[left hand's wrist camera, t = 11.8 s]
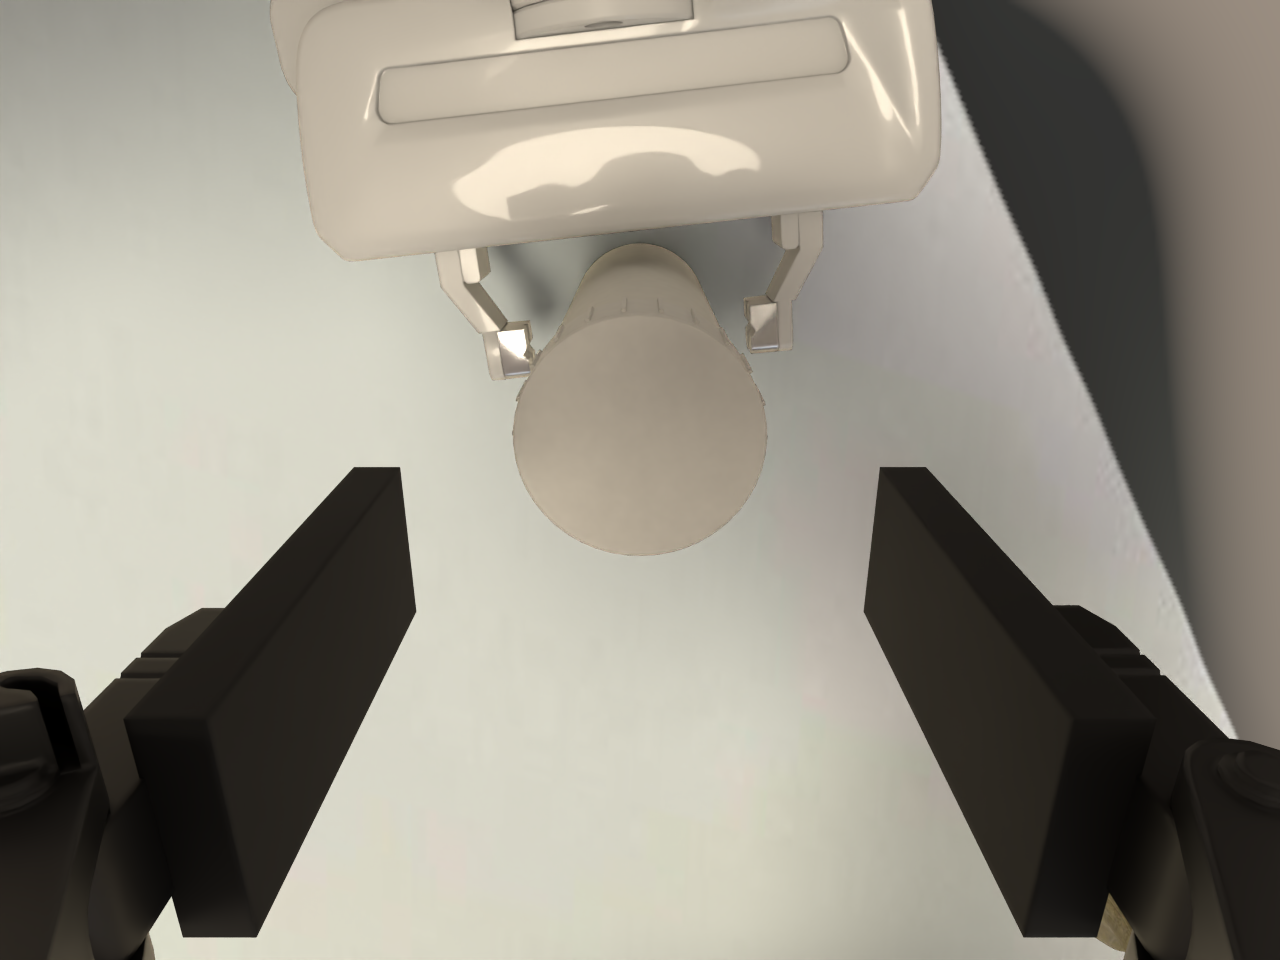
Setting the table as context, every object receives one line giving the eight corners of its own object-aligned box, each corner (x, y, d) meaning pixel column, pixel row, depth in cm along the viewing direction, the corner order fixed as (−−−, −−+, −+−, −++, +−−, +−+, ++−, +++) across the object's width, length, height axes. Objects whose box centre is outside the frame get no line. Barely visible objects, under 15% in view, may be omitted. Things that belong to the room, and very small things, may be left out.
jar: (607, 392, 36) (583, 573, 21) (554, 275, 35) (481, 376, 19) (723, 342, 36) (790, 492, 20) (674, 221, 34) (704, 278, 18)
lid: (583, 554, 22) (577, 593, 20) (481, 353, 20) (463, 376, 18) (790, 472, 22) (806, 505, 19) (704, 255, 20) (712, 266, 17)
